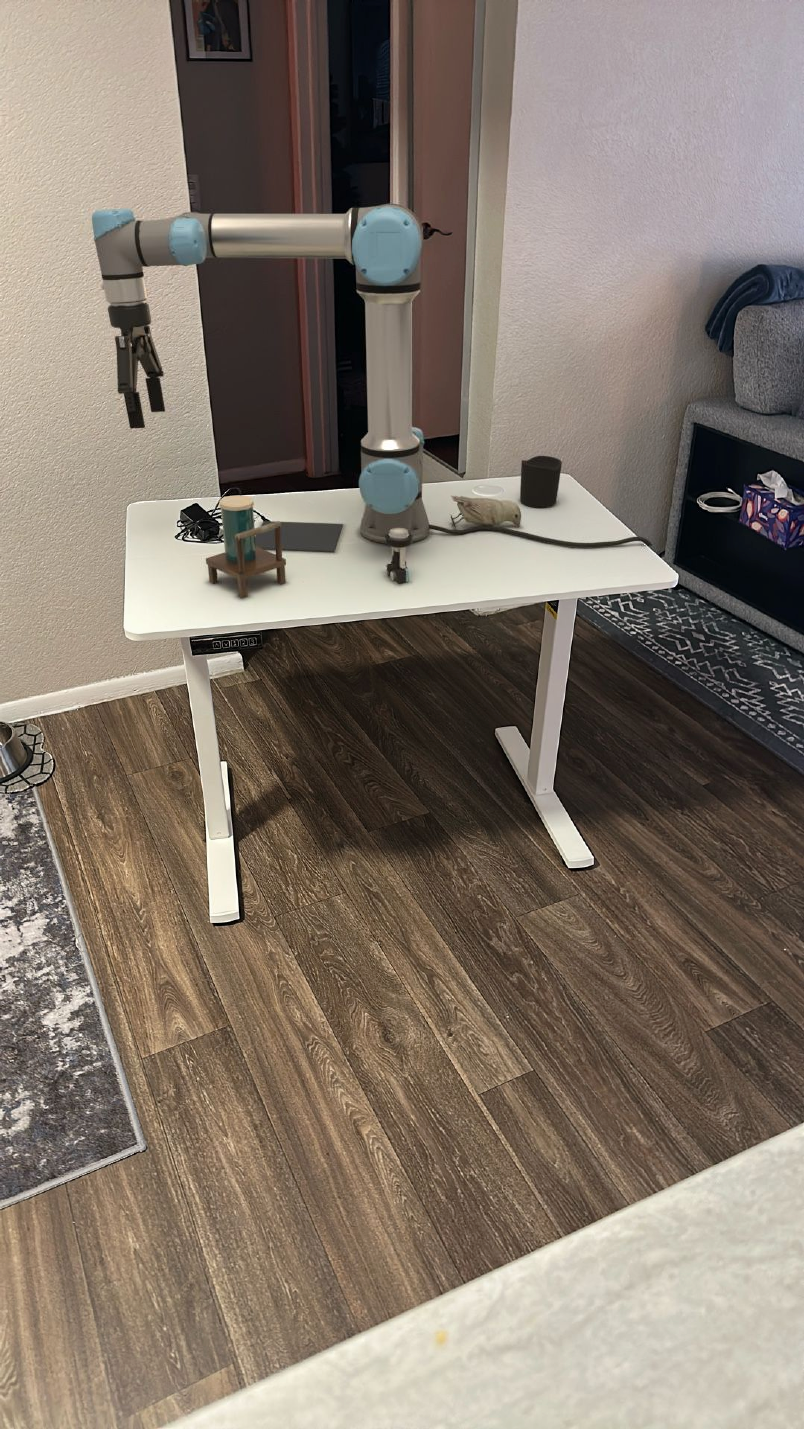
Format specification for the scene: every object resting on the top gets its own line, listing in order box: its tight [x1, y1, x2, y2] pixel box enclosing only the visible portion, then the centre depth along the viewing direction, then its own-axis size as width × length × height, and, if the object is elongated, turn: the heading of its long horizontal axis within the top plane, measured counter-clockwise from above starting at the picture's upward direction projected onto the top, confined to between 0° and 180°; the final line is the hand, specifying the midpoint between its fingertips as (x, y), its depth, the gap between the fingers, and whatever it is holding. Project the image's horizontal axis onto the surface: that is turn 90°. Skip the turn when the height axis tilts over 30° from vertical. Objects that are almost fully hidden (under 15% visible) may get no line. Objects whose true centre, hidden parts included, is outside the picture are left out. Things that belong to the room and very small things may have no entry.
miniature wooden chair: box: [205, 520, 287, 599], centre depth 184 cm, size 11×11×13 cm
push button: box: [385, 528, 413, 585], centre depth 187 cm, size 7×5×10 cm
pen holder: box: [519, 455, 563, 509], centre depth 227 cm, size 9×9×10 cm
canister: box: [219, 494, 256, 562], centre depth 182 cm, size 6×6×11 cm
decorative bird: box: [449, 495, 522, 530], centre depth 213 cm, size 5×16×7 cm, turn 94°
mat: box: [255, 520, 344, 553], centre depth 208 cm, size 18×16×1 cm
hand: (148, 419), depth 187 cm, fingers open, 13 cm apart
